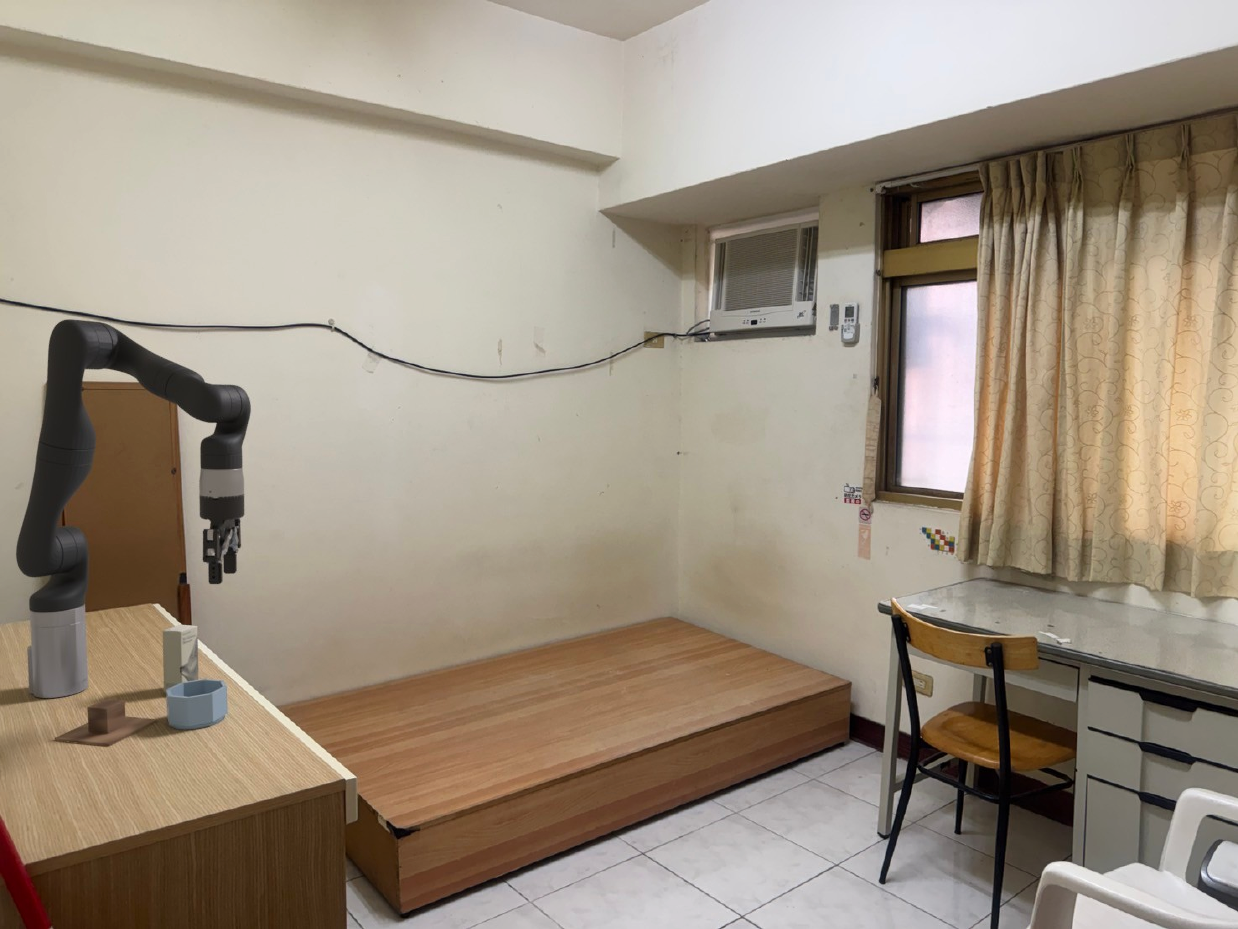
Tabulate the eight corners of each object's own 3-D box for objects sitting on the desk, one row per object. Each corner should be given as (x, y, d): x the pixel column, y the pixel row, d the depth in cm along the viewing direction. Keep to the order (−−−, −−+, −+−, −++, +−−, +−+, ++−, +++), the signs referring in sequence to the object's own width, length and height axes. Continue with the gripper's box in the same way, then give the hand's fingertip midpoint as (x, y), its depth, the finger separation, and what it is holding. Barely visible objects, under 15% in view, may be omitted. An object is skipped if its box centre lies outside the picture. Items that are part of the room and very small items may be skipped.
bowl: (155, 727, 149) (154, 695, 149) (193, 708, 159) (192, 677, 158) (202, 732, 147) (201, 699, 147) (237, 712, 157) (236, 681, 156)
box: (182, 695, 165) (180, 632, 164) (163, 693, 166) (160, 630, 165) (200, 686, 171) (198, 625, 170) (181, 684, 171) (179, 623, 170)
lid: (54, 743, 143) (53, 712, 143) (106, 719, 154) (104, 690, 154) (109, 749, 141) (107, 718, 141) (157, 724, 152) (156, 695, 151)
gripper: (213, 487, 160) (214, 570, 161) (186, 497, 146) (187, 587, 147) (254, 488, 161) (254, 570, 162) (231, 497, 147) (232, 587, 148)
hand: (223, 578), depth 155 cm, fingers open, 8 cm apart
